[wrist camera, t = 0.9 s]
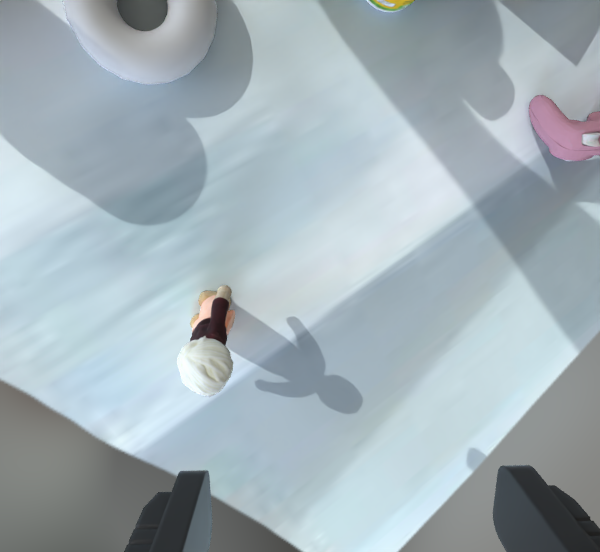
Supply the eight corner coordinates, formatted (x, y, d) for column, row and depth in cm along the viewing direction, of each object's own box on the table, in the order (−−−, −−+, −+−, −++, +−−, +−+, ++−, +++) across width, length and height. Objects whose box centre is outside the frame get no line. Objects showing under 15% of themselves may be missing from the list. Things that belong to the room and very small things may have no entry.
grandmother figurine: (226, 351, 37) (228, 440, 25) (183, 346, 36) (163, 434, 24) (243, 270, 36) (253, 322, 24) (197, 262, 35) (184, 312, 23)
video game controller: (514, 143, 39) (569, 178, 34) (526, 93, 36) (588, 124, 31) (606, 118, 40) (673, 148, 35) (626, 67, 37) (702, 93, 32)
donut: (218, 93, 32) (217, -59, 29) (217, 86, 29) (216, -86, 26) (78, 83, 30) (63, -81, 28) (60, 74, 27) (42, -113, 24)
